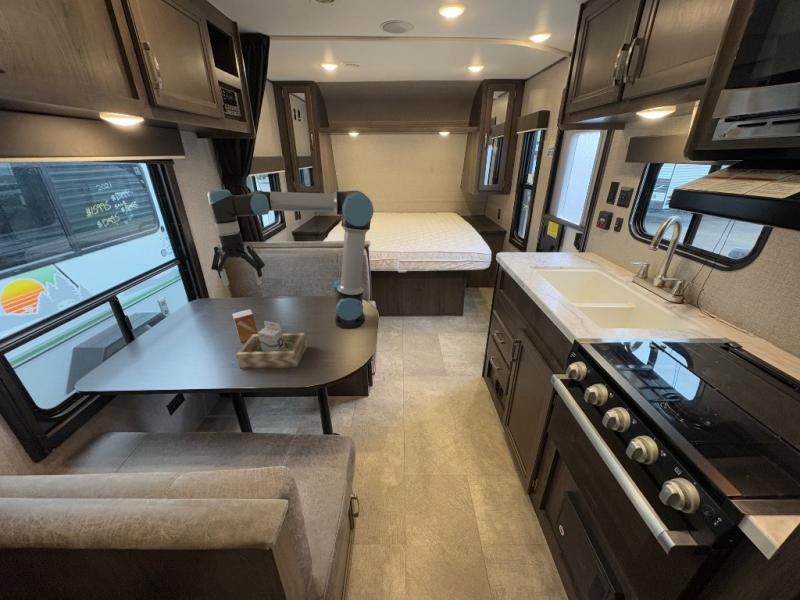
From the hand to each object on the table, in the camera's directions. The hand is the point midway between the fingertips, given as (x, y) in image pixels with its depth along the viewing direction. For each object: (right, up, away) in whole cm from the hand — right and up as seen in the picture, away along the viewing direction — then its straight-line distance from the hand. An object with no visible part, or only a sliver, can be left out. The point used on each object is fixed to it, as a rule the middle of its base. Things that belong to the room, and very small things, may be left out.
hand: (243, 284), depth 125 cm
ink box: (+11, -30, +6) cm, 32 cm away
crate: (+11, -31, +6) cm, 33 cm away
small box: (-8, -24, +22) cm, 34 cm away
